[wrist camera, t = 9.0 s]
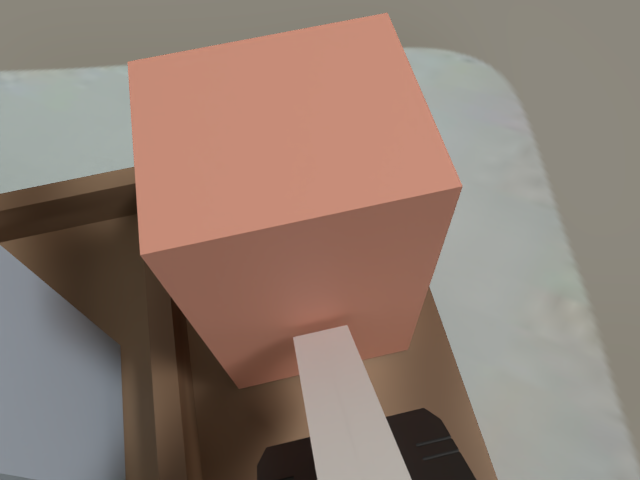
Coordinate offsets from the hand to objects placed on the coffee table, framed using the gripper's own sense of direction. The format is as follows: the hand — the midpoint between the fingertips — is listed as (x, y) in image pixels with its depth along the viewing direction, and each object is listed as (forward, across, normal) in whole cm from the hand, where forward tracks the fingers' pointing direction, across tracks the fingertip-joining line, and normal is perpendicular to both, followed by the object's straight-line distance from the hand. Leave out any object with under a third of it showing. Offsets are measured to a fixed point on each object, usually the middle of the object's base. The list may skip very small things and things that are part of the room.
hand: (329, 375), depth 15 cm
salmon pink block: (+5, 0, 0) cm, 5 cm away
